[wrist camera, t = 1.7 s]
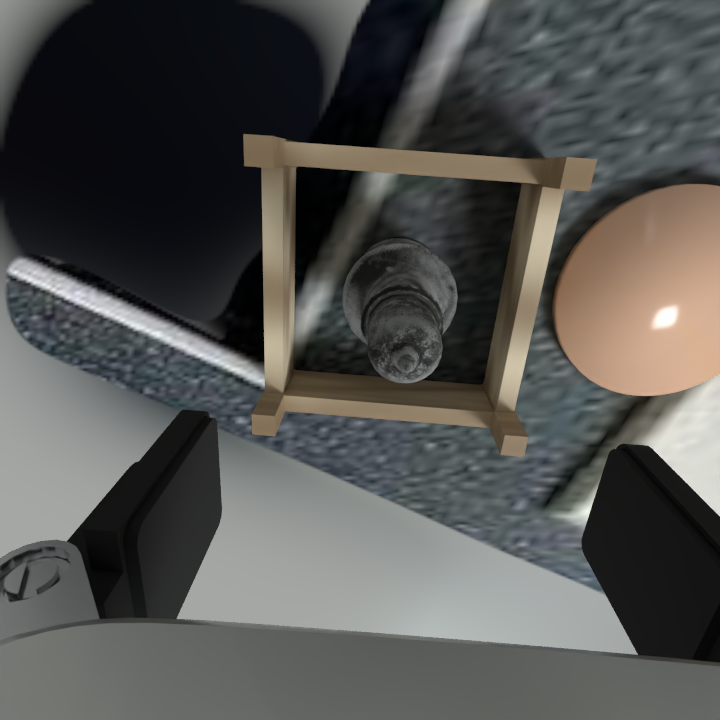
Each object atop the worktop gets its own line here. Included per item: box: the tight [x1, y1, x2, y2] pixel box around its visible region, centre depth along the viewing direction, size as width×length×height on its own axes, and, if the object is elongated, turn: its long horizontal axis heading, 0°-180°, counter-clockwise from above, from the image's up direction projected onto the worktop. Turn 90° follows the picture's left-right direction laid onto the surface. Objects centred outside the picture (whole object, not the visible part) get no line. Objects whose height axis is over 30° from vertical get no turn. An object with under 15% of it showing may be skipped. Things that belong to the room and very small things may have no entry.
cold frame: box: [243, 134, 597, 457], centre depth 24 cm, size 14×14×6 cm
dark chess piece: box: [342, 238, 458, 383], centre depth 21 cm, size 6×6×12 cm
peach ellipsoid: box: [552, 184, 720, 396], centre depth 26 cm, size 12×12×1 cm
